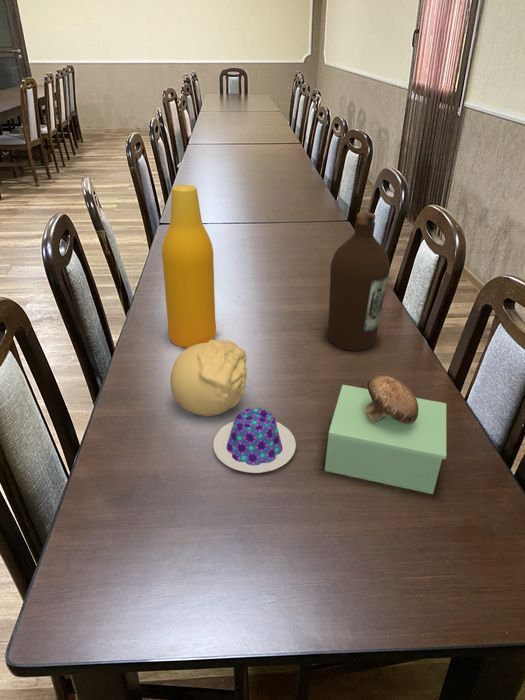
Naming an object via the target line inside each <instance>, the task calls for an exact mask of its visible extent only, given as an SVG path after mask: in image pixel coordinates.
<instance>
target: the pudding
mask: <svg viewBox="0 0 525 700" xmlns="http://www.w3.org/2000/svg"><path fill="white" fill-rule="evenodd" d="M212 445H213V450H214V453H215V455H216V457H217V458H218V460H219V461H221V462H222V463H223V464H224V465H225V466H227V467H229V468H231V469H233V470H236V471H240V472H243V473H253V474H256V473H257V474H258V473H266V472H271V471H274V470H277V469H279V468H280V467H281V468H282V466H284V465H285V464H287V463H288V462H289V461H290V460H291V459H292V458H293V456H294V455H295V453H296V450H297V449H296V448H297V443H296V439H295V436H294V434H293V433H292V432H291V430H290V429H288V427H286V426H285V425H283V424H282V423H281V422H278V421H276V418H275V416H274V414H272V412H269V411H266V409H264V408H261V407H260V408H259V407H258V408H253V407H249V408H246V409H244V410H241V411H240V412H238V413H237V414H236V416H235V418H234V420H233V421H230V422H229V423H226V424H225V425H224V426H222V427H220V429H219V430H218V431H217V432H216V434H215V436H214V438H213V443H212Z"/></svg>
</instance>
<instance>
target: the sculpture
mask: <svg viewBox="0 0 525 700" xmlns="http://www.w3.org/2000/svg"><path fill="white" fill-rule="evenodd" d="M247 359H248V358H247V353H246V351H245V350H244V349H243V348H241V347H240V346H239V345H238V344H237V343H235V342H233V341H232V340H219V341H218V340H215V339H213V340H210V341H209V342H207V343H200V344H196V345H193V346H191V347H189V348H185V349H184V350H182V351H181V353H180V354H179V355H178V356H177V358H176V359H175V361H174V363H173V365H172V368H171V373H170V379H169V381H170V389H171V393H172V395H173V398H174V399H175V401H176V403H178V405H179V406H180V407H181V408H182V409H184V410H185V411H187V412H189V413H191V414H194V415H198V416H203V417H214V416H219V415H221V414H224V413H226V412H227V411H229V410H230V409H233V408H235V407H236V406H237V404H238V403H239V402H240V401H241V399H242V397H243V395H244V394H245V393H246V389H245V388H244V387H246V384H247V377H248V375H247V374H248V369H247V367H246V366H247V365H246V363H247Z"/></svg>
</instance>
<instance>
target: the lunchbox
mask: <svg viewBox="0 0 525 700" xmlns="http://www.w3.org/2000/svg"><path fill="white" fill-rule="evenodd" d="M325 453H326V454H325V462H324V472H327V473H333V474H337V475H341V476H347V477H351V478H356V479H360V480H365V481H369V482H375V483H379V484H384V485H386V486H387V485H388V486H393V487H397V488H402V489H407V490H409V491H410V490H411V491H416V492H420V493H424V494H429V495H433V494H434V492H435V488H436V485H437V481H438V476H439V472H440V469H441V466H442V462H443V459H440V458H435V457H431V456H426V455H421V454H416V453H411V452H406V451H401V450H396V449H391V448H386V447H381V446H377V445H372V444H367V443H362V442H357V441H352V440H347V439H342V438H337V437H332V436H327V445H326V452H325Z"/></svg>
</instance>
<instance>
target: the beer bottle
mask: <svg viewBox="0 0 525 700" xmlns="http://www.w3.org/2000/svg"><path fill="white" fill-rule="evenodd" d="M170 195H171V198H170V220H169V226H168V229H167V231H166V234H165V236H164V239H163V242H162V246H161V248H162V249H161V259H162V268H163V269H162V270H163V280H164V292H165V294H164V295H165V305H166V316H167V334H168V338H169V340H170V341H171V342H172V343H173V344H174V345H175V346H177V347H179V348H180V347H181V348H185V349H187V348H189V347H191V346H193V345H196V344H200V343H207V342H209V341H210V340H215V338H216V333H217V322H216V296H215V267H214V248H213V243H212V241H211V238H210V236H209V234H208V232H207V230H206V228H205V226H204V223H203V221H202V213H201V208H200V200H199V195H198V189H197V187H196V186H195V185H192V184H191V185H190V184H179V185H178V184H177V185H174V186H172V187H171V194H170Z"/></svg>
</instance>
